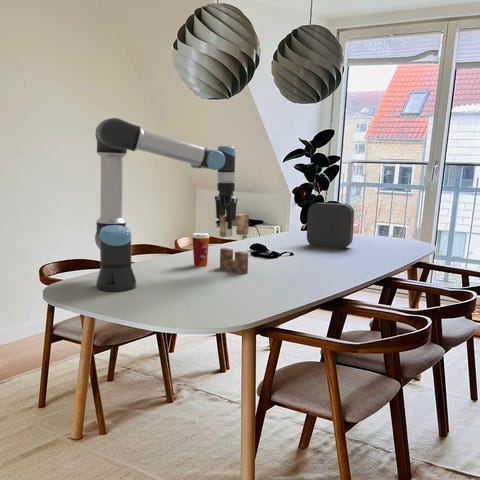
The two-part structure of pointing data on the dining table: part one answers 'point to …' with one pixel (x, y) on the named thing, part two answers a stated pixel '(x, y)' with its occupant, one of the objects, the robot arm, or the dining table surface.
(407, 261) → the dining table surface
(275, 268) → the dining table surface
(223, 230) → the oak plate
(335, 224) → the speaker
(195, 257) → the coffee cup
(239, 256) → the wooden notched block
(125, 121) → the robot arm
